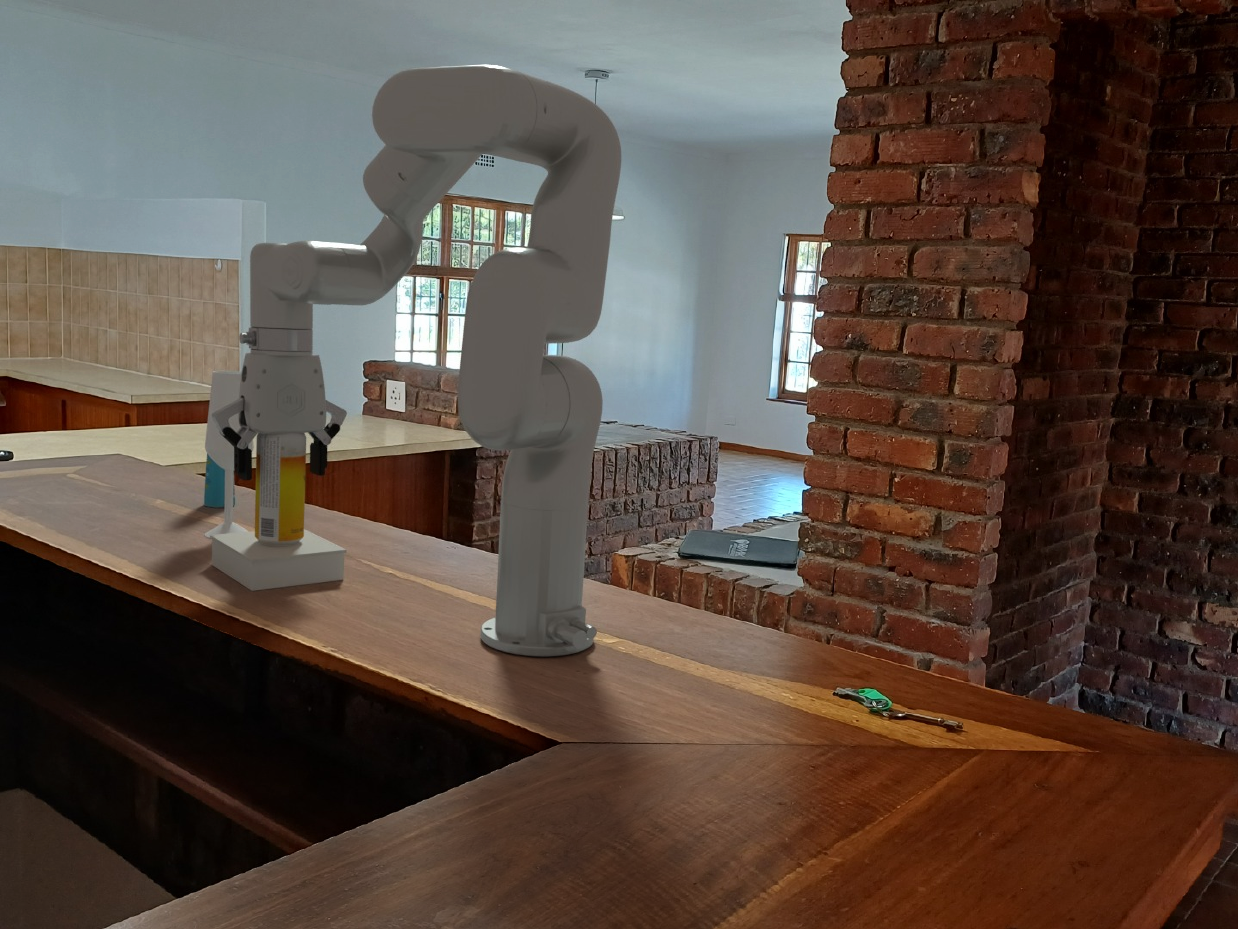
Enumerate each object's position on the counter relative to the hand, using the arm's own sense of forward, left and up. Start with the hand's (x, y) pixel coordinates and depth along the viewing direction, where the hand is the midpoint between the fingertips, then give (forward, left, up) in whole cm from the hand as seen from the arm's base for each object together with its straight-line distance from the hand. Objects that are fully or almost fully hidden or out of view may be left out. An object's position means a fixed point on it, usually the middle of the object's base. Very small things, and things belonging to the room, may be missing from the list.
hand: (281, 476), depth 140 cm
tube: (+45, -8, -13) cm, 47 cm away
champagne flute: (+24, -2, -13) cm, 27 cm away
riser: (+1, 0, -13) cm, 13 cm away
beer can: (0, 0, -9) cm, 9 cm away
